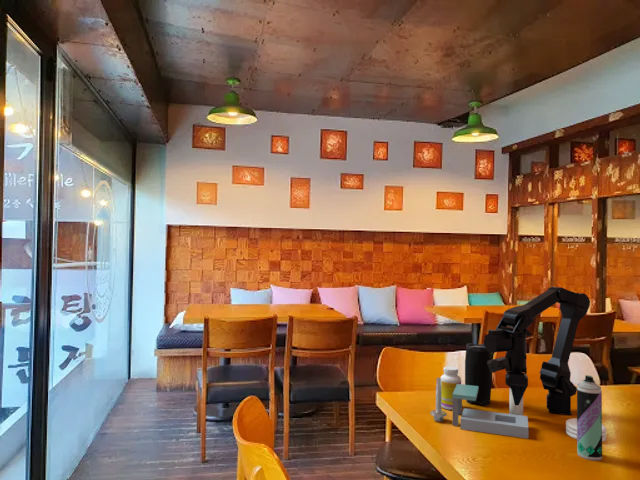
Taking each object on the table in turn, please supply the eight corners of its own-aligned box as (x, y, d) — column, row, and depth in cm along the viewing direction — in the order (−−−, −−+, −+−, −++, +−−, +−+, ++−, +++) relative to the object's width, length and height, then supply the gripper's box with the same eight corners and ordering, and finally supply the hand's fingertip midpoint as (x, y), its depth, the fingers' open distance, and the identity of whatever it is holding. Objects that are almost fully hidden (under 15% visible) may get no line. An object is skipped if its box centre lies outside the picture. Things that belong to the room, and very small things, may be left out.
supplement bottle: (462, 411, 153) (462, 371, 154) (441, 409, 155) (441, 370, 155) (460, 404, 160) (460, 366, 160) (440, 403, 161) (440, 365, 161)
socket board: (527, 426, 140) (527, 416, 140) (528, 438, 131) (528, 427, 131) (463, 418, 147) (463, 408, 147) (460, 429, 138) (460, 418, 138)
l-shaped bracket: (478, 415, 149) (478, 386, 149) (475, 428, 138) (475, 396, 138) (457, 412, 152) (457, 383, 152) (452, 425, 141) (452, 394, 141)
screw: (432, 416, 148) (447, 418, 146) (428, 421, 144) (445, 423, 142) (432, 374, 149) (448, 376, 146) (428, 378, 144) (445, 380, 142)
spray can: (572, 451, 123) (572, 373, 123) (592, 451, 123) (592, 373, 124) (586, 460, 117) (585, 379, 118) (607, 460, 118) (606, 378, 118)
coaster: (601, 432, 137) (601, 420, 137) (610, 445, 127) (610, 432, 127) (563, 427, 140) (563, 415, 140) (568, 440, 131) (568, 427, 131)
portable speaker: (490, 399, 166) (490, 343, 166) (492, 408, 157) (492, 348, 157) (464, 397, 168) (465, 341, 169) (464, 405, 159) (465, 346, 160)
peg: (523, 416, 149) (523, 387, 149) (523, 420, 145) (523, 390, 145) (509, 414, 150) (509, 386, 151) (509, 418, 147) (509, 389, 147)
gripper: (490, 343, 160) (490, 389, 160) (487, 354, 143) (487, 406, 142) (526, 345, 156) (526, 393, 155) (527, 357, 139) (528, 411, 138)
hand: (516, 400), depth 148 cm, fingers open, 9 cm apart
